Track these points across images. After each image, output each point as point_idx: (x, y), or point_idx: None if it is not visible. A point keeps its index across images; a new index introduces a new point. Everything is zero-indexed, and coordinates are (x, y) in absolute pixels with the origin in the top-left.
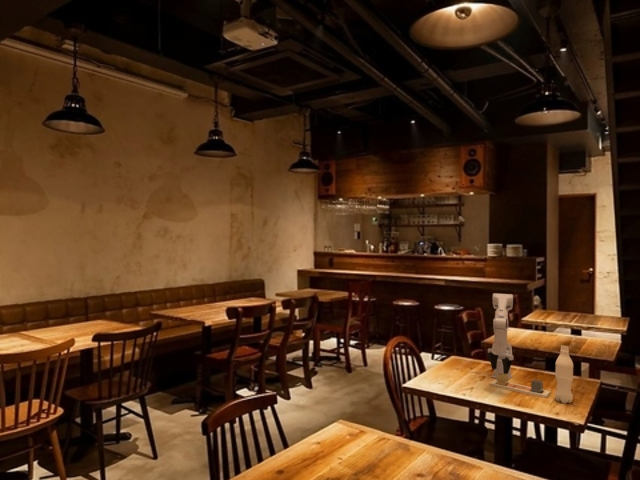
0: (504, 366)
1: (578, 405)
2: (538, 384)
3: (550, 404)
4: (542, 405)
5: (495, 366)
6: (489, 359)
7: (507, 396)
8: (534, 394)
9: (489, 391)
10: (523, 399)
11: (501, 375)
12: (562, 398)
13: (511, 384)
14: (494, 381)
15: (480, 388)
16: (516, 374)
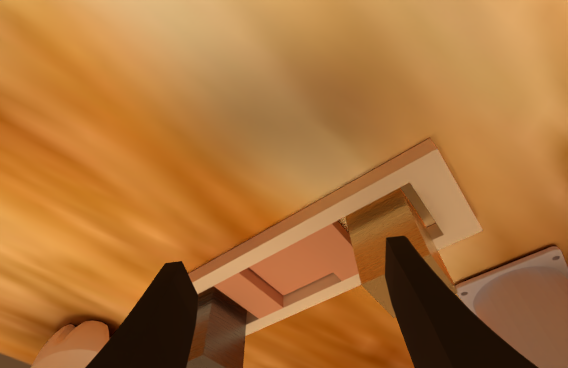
0: (101, 359)
1: None
2: None
3: (37, 275)
4: (7, 235)
5: (394, 297)
6: (510, 352)
7: (171, 131)
8: None
9: (310, 55)
10: (109, 197)
11: None
12: (45, 345)
13: (350, 265)
14: (451, 206)
15: (410, 16)
16: None
